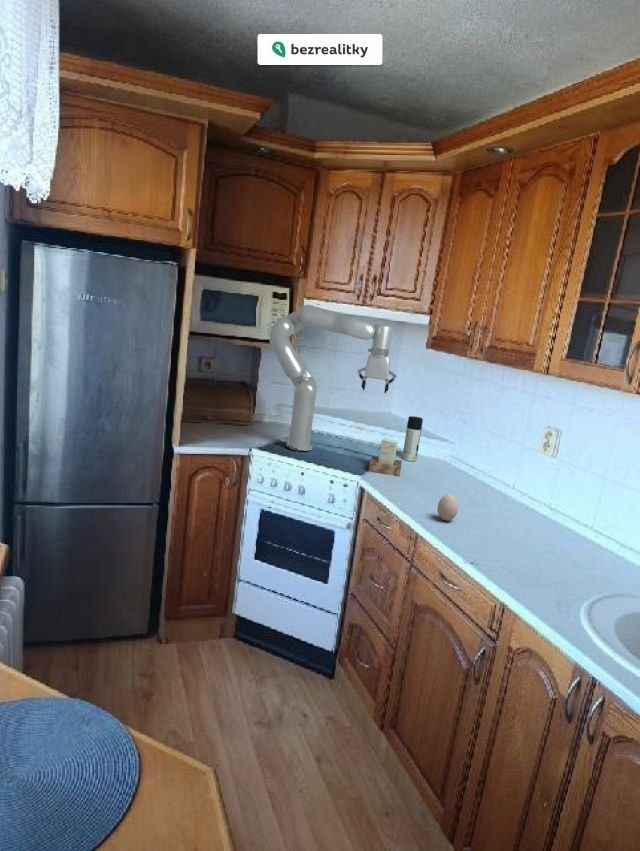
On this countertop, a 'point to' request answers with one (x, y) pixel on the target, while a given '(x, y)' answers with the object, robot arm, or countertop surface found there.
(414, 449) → the spray can
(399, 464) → the socket block
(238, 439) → the countertop surface
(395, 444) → the skincare box
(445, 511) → the egg
